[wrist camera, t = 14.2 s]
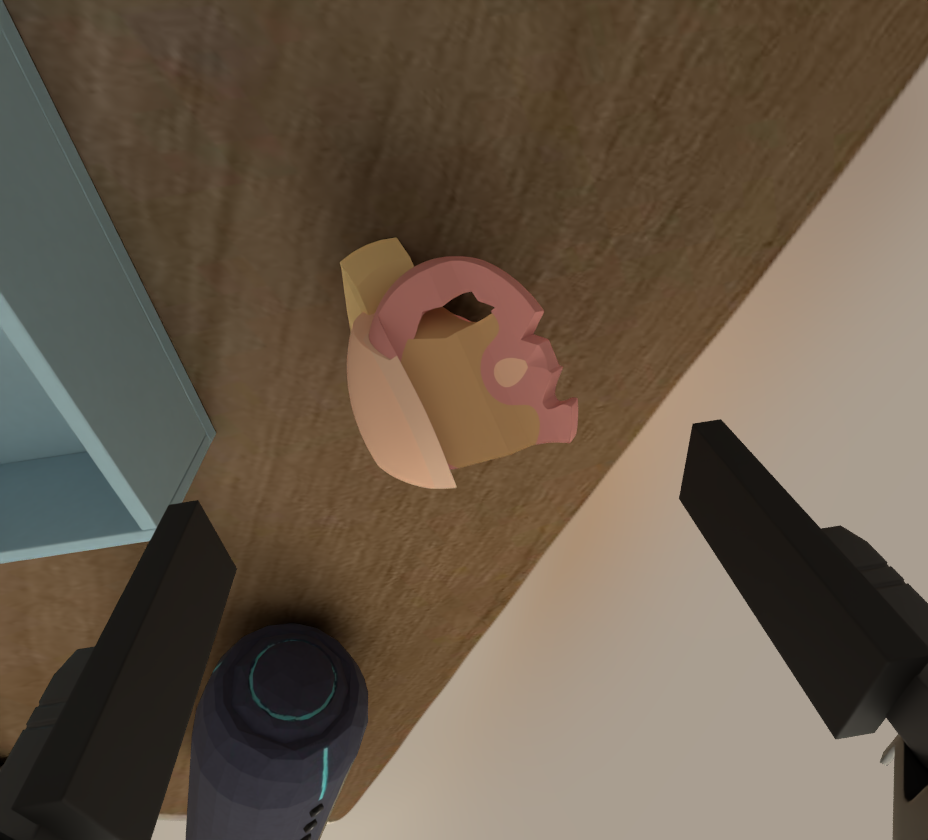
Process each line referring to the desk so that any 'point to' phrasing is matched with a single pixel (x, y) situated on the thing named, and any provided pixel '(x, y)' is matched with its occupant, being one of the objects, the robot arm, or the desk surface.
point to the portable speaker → (275, 737)
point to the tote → (77, 350)
